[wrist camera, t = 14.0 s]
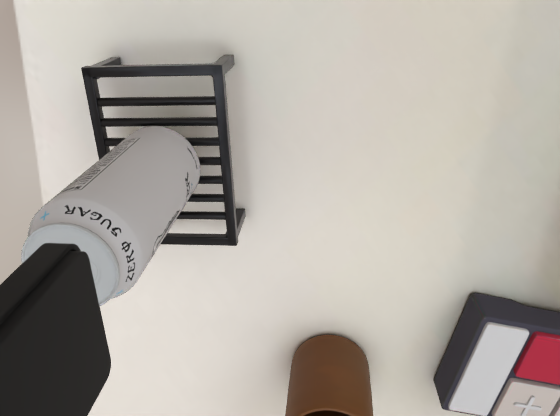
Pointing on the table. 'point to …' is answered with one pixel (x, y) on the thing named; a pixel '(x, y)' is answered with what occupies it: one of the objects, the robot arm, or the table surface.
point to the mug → (329, 379)
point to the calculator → (502, 360)
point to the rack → (218, 72)
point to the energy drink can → (121, 207)
